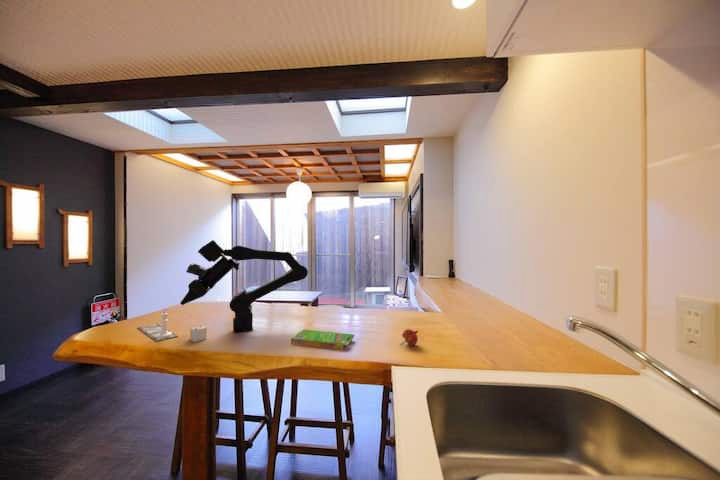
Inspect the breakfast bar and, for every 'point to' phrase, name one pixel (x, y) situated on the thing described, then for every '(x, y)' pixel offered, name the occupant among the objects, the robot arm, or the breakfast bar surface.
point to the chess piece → (164, 327)
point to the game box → (322, 339)
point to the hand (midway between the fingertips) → (184, 301)
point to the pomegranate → (410, 337)
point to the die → (198, 333)
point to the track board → (154, 331)
